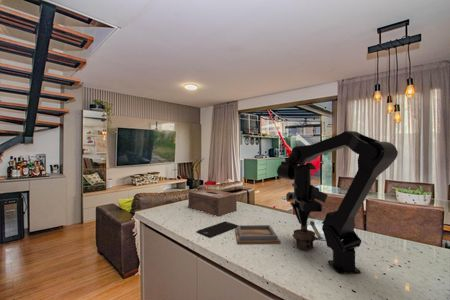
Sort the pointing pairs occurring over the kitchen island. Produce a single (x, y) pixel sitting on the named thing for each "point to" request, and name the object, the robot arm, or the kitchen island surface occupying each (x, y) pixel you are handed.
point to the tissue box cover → (213, 201)
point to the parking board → (256, 232)
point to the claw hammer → (316, 231)
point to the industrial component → (304, 237)
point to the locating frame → (256, 237)
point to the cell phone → (217, 229)
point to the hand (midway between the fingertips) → (302, 224)
